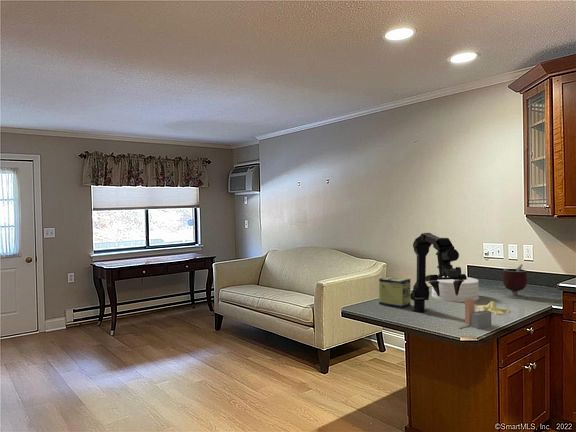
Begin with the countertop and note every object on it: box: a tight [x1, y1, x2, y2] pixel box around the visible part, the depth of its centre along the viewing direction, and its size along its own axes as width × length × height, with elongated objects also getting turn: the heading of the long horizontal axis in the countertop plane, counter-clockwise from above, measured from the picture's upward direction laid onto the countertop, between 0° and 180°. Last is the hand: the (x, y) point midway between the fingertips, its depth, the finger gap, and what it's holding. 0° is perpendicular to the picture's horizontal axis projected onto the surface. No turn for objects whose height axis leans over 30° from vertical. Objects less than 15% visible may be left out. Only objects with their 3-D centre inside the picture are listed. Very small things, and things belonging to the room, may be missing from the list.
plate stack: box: [431, 276, 480, 303], centre depth 280 cm, size 28×28×12 cm
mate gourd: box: [502, 264, 528, 300], centre depth 278 cm, size 16×14×20 cm
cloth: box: [475, 300, 511, 316], centre depth 242 cm, size 22×19×6 cm
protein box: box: [378, 276, 412, 309], centre depth 260 cm, size 10×16×16 cm
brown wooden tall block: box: [464, 298, 476, 325], centre depth 216 cm, size 2×4×12 cm, turn 120°
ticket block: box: [457, 310, 492, 330], centre depth 210 cm, size 6×17×7 cm, turn 120°
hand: (447, 295), depth 210 cm, fingers open, 9 cm apart
